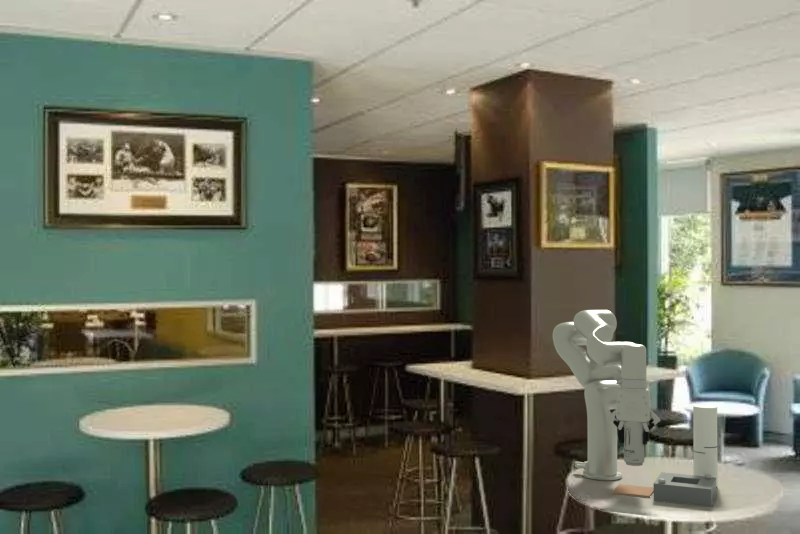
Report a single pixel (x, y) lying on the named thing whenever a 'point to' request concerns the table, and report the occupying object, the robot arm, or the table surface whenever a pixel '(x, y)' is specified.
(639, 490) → the coaster
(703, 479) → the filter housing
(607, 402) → the robot arm
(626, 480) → the table surface
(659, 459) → the table surface
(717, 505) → the table surface
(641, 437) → the energy drink can
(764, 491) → the table surface
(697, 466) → the cylindrical container
